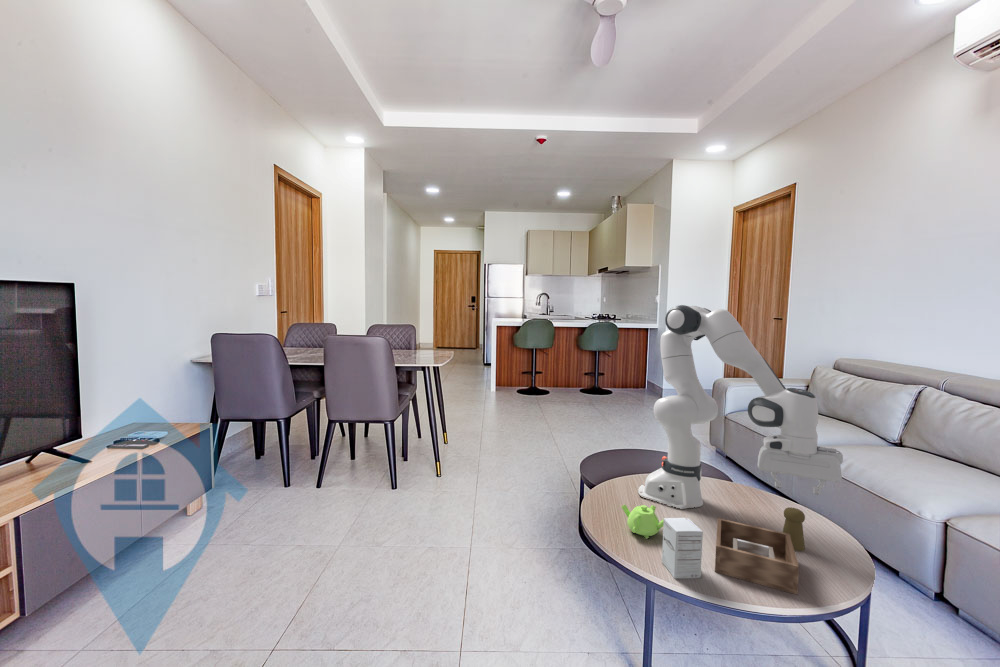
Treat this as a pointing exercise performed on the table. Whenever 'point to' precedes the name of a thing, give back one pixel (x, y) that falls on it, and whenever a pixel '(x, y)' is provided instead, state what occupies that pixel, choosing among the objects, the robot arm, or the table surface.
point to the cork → (794, 527)
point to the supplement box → (682, 547)
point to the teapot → (643, 520)
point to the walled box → (756, 555)
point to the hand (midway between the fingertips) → (796, 490)
